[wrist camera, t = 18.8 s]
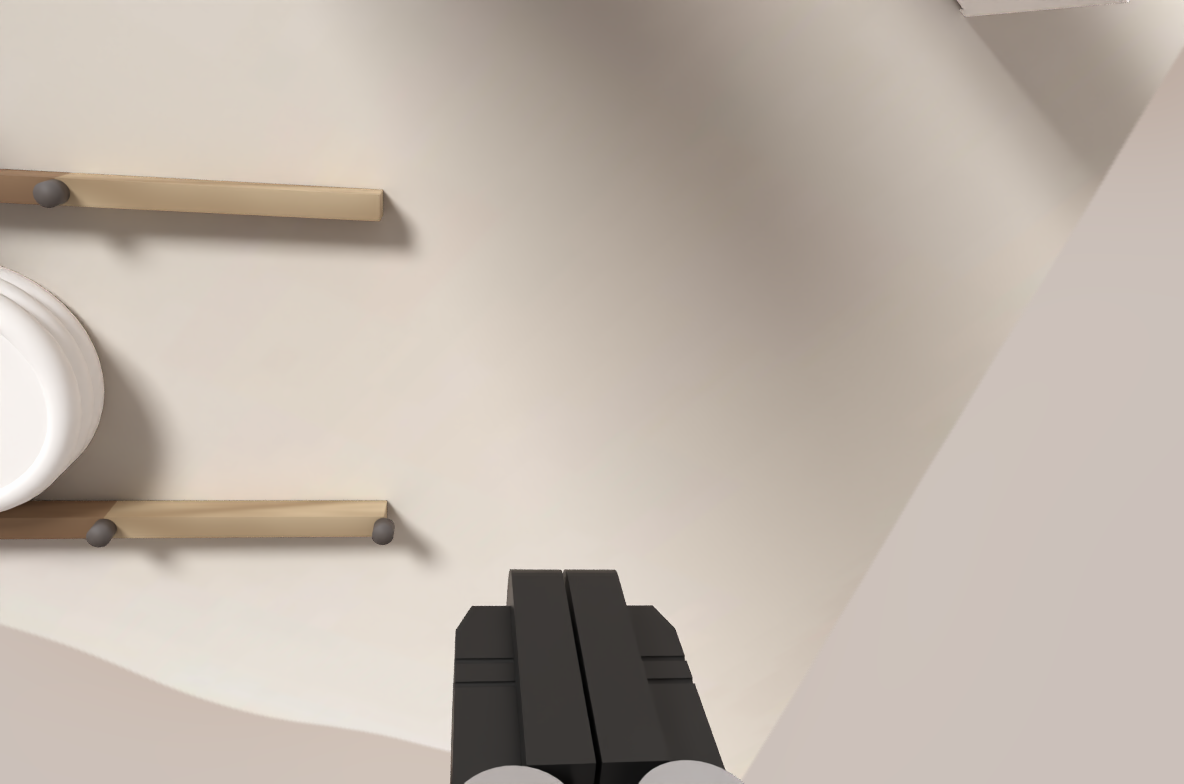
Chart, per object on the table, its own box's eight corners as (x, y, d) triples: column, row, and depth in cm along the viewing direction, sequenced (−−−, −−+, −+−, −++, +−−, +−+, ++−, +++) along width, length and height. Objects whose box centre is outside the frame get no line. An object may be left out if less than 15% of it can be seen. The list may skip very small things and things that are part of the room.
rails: (-290, 153, 30) (-346, 159, 28) (394, 190, 34) (389, 199, 32) (-186, 521, 36) (-227, 551, 34) (397, 519, 39) (393, 545, 37)
